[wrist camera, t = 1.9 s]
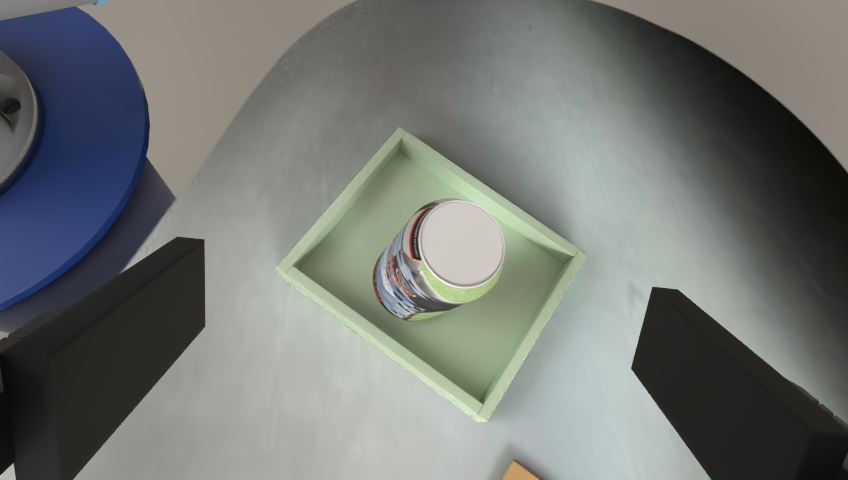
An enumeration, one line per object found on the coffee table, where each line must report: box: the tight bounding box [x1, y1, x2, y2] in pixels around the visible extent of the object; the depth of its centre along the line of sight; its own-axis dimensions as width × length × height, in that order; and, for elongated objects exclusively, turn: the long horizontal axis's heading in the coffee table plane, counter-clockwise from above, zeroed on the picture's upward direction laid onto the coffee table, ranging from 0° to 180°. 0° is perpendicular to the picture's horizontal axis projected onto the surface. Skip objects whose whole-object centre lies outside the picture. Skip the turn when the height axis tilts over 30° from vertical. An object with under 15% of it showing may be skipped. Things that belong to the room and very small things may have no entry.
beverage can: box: [373, 198, 505, 322], centre depth 33 cm, size 6×7×12 cm
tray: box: [276, 127, 587, 423], centre depth 39 cm, size 18×15×2 cm
